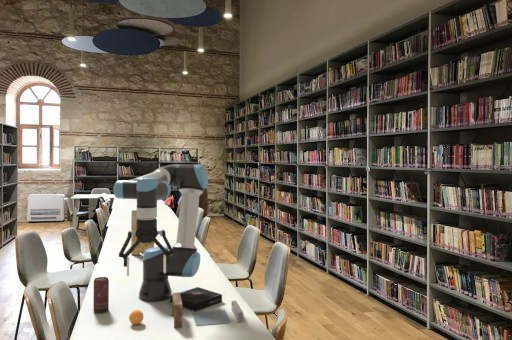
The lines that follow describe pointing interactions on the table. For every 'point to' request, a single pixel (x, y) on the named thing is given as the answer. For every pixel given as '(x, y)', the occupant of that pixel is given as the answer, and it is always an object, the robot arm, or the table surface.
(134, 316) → the ball
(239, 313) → the stopper
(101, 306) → the can
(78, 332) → the table surface
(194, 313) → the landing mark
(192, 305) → the portable cd player
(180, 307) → the bridge
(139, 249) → the parchment
